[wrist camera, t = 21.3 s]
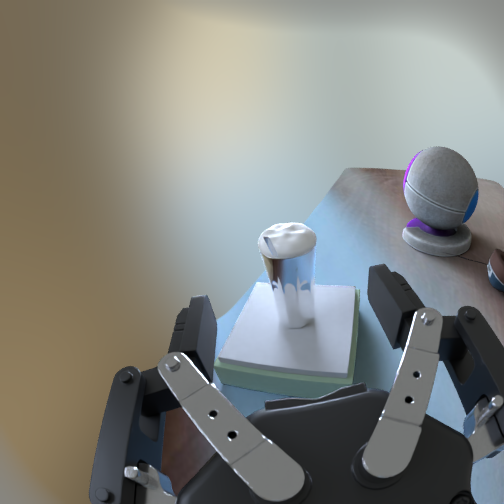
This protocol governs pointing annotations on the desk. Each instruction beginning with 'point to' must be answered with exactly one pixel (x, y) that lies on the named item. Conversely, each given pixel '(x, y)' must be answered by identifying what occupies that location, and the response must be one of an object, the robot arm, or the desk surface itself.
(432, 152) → the webcam
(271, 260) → the milkshake
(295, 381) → the scale
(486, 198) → the desk surface
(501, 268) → the headphones
